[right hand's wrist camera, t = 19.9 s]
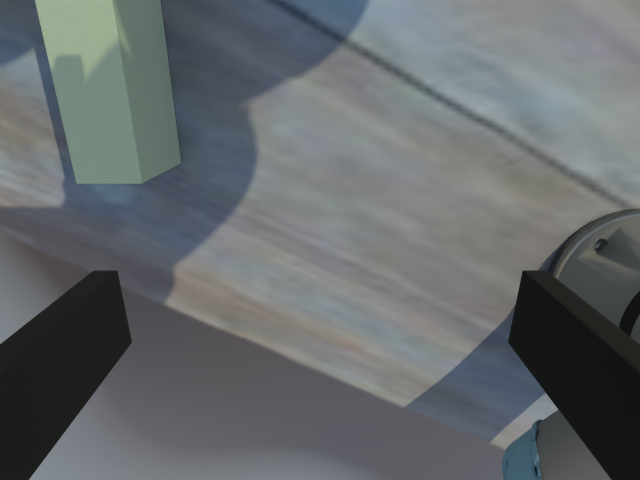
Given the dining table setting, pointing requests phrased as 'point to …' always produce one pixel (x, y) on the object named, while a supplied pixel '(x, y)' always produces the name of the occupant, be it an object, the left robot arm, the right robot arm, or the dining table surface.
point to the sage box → (112, 87)
